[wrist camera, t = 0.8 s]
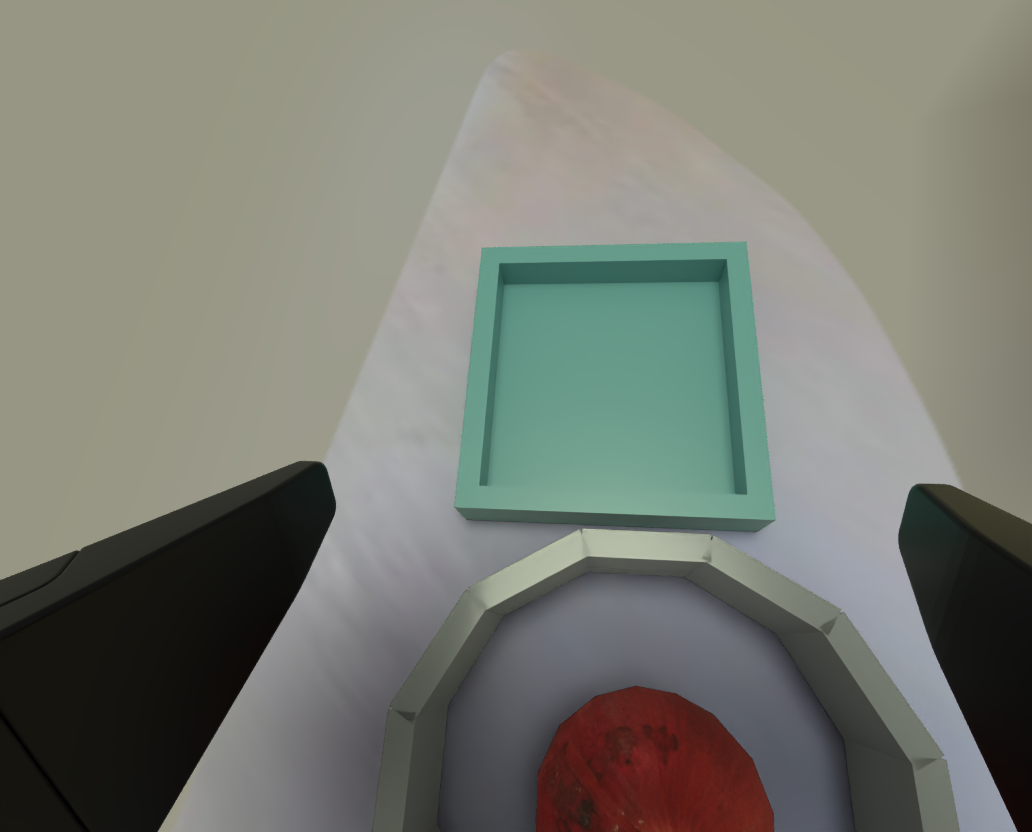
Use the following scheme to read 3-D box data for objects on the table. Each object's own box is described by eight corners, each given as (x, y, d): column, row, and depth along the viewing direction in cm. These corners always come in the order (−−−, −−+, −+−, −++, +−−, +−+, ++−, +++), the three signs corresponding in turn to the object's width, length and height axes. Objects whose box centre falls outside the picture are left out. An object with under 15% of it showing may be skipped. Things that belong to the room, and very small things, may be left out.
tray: (757, 532, 20) (775, 519, 18) (466, 519, 21) (454, 507, 19) (733, 274, 24) (746, 241, 22) (489, 277, 25) (482, 247, 24)
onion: (514, 821, 18) (462, 951, 10) (591, 646, 19) (595, 649, 12) (692, 940, 16) (780, 1193, 9) (760, 739, 18) (884, 810, 10)
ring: (929, 1138, 14) (1049, 1313, 10) (387, 1045, 16) (328, 1165, 12) (844, 561, 19) (906, 543, 16) (443, 542, 21) (413, 521, 18)
